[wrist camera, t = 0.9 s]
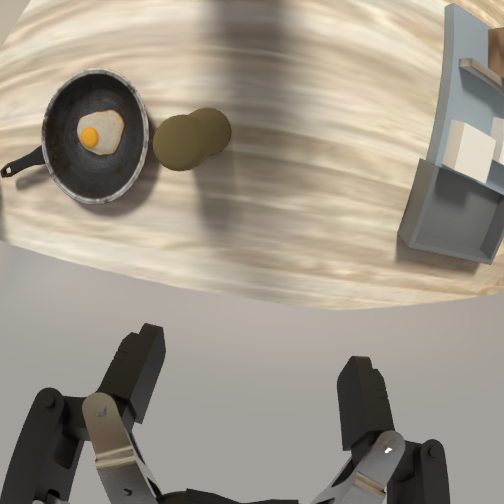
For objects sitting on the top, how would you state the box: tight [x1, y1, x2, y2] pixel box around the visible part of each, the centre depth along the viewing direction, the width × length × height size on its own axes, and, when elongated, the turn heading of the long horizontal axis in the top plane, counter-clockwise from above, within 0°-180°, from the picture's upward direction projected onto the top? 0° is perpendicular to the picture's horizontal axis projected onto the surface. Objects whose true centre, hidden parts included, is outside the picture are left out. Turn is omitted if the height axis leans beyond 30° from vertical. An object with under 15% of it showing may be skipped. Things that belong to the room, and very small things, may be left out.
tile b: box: [442, 119, 496, 183], centre depth 24 cm, size 6×6×3 cm
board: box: [426, 3, 504, 195], centre depth 22 cm, size 24×16×2 cm, turn 173°
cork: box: [153, 108, 231, 171], centre depth 26 cm, size 6×6×11 cm
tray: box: [398, 159, 504, 265], centre depth 30 cm, size 11×18×4 cm, turn 83°
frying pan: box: [1, 68, 149, 205], centre depth 31 cm, size 19×32×4 cm, turn 95°
